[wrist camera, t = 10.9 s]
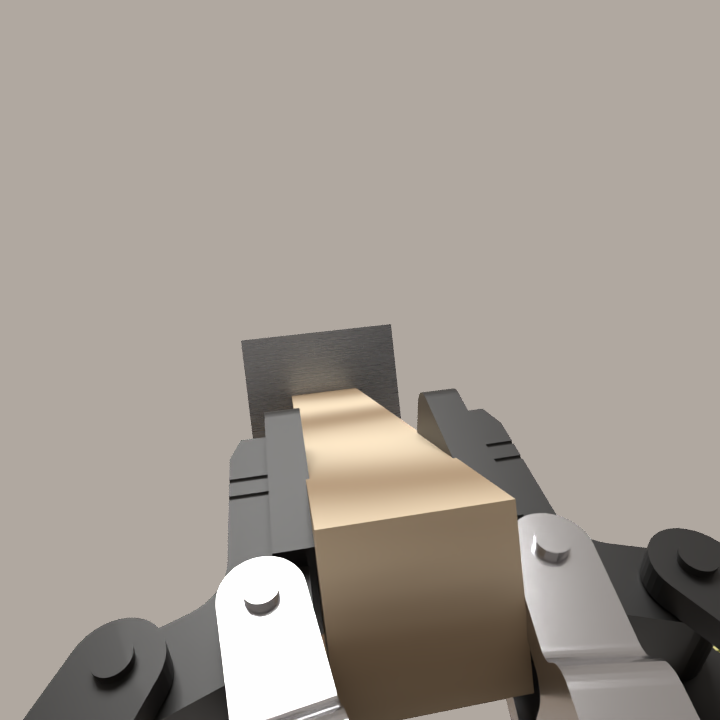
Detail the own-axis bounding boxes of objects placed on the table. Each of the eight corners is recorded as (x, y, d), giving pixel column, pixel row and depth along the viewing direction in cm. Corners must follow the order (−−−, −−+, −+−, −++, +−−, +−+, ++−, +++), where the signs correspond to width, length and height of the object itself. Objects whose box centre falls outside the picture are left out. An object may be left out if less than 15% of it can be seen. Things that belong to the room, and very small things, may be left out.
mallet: (653, 668, 8) (622, 299, 7) (199, 760, 7) (146, 351, 7) (379, 423, 30) (368, 326, 29) (261, 439, 29) (249, 339, 28)
